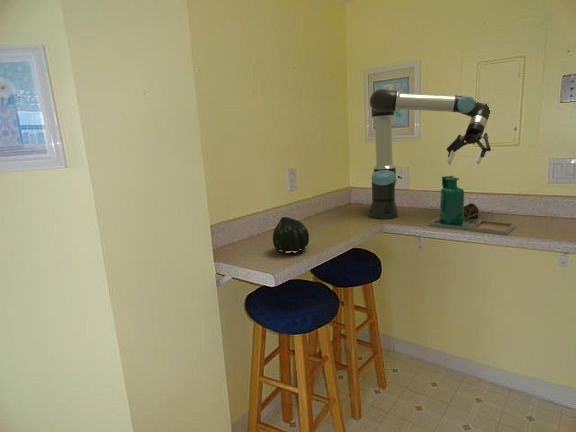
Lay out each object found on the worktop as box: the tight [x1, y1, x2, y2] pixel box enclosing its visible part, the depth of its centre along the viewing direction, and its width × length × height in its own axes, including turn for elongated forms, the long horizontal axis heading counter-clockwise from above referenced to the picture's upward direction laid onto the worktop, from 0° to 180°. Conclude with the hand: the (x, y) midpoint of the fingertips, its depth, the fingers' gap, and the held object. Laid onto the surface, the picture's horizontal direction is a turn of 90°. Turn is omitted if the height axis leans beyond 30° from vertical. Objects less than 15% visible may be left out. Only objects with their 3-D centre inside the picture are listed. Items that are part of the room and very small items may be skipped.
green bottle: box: [439, 175, 465, 226], centre depth 179 cm, size 10×8×22 cm
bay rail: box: [428, 216, 516, 236], centre depth 175 cm, size 32×15×1 cm, turn 49°
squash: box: [272, 216, 310, 252], centre depth 155 cm, size 14×15×15 cm
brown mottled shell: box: [463, 202, 480, 219], centre depth 190 cm, size 7×13×10 cm
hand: (462, 162), depth 183 cm, fingers open, 13 cm apart
